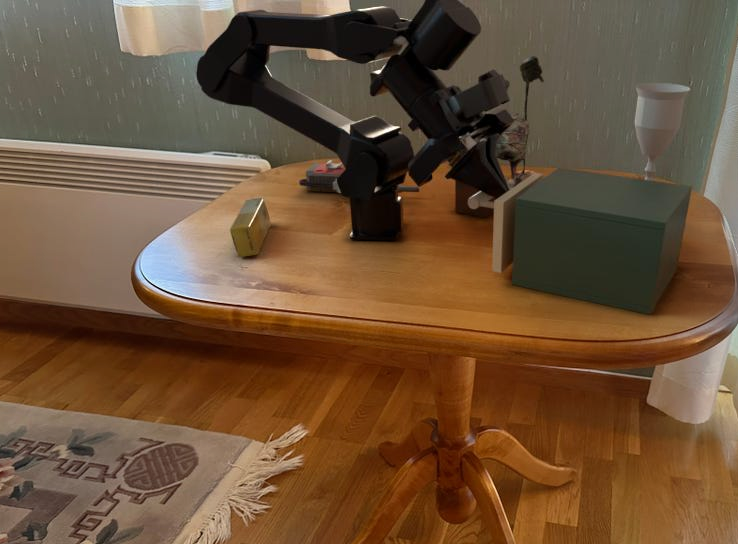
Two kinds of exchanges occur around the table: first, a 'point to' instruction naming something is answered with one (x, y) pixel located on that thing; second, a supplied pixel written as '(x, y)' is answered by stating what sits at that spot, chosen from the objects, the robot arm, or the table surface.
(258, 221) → the medication box
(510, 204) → the drawer
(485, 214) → the block
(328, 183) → the walkie-talkie
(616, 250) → the cabinet
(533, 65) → the bird figurine
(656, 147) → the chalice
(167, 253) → the table surface
